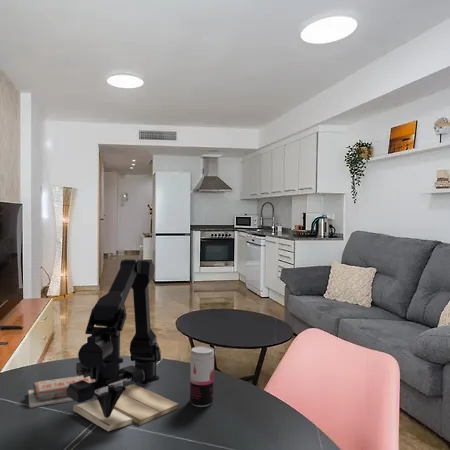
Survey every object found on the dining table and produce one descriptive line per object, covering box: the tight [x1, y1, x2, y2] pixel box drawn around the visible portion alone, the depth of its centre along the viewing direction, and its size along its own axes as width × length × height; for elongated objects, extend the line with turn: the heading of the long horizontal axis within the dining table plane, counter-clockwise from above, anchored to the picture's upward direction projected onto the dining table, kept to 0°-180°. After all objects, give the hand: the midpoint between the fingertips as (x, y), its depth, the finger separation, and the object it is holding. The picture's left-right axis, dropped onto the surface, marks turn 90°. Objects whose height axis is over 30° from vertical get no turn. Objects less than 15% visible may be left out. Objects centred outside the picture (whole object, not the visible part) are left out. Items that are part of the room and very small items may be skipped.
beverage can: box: [189, 345, 215, 408], centre depth 119 cm, size 6×6×15 cm
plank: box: [72, 399, 133, 432], centre depth 108 cm, size 7×16×1 cm, turn 49°
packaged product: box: [28, 375, 96, 409], centre depth 122 cm, size 18×5×10 cm
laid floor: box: [95, 383, 180, 426], centre depth 117 cm, size 13×20×1 cm, turn 49°
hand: (106, 417), depth 104 cm, fingers closed
